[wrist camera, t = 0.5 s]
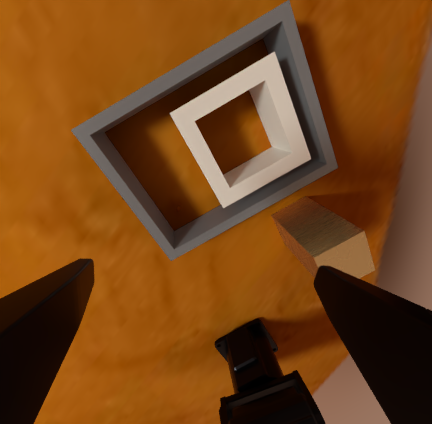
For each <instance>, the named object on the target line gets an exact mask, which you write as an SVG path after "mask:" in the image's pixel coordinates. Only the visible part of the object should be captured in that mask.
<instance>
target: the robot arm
mask: <svg viewBox="0 0 432 424" xmlns="http://www.w3.org/2000/svg"><path fill="white" fill-rule="evenodd" d="M93 285H94V263H93V260H92V259H78V260H76V261H74V262H72V263H70V264H68V265H66V266H64V267H62V268H60V269H58V270H56V271H54V272H52V273H50V274H48V275H46V276H44V277H42V278H40V279H38V280H36V281H34V282H32V283H30V284H28V285H26V286H24V287H23V288H21V289H19V290H17V291H15V292H13V293H11V294H9V295H7V296H5V297H3V298H1V299H0V424H34V422H35V419H36V417H37V415H38V413H39V411H40V409H41V407H42V405H43V403H44V400H45V398H46V396H47V394H48V392H49V390H50V388H51V386H52V383H53V381H54V379H55V377H56V375H57V373H58V371H59V369H60V366H61V364H62V362H63V360H64V358H65V356H66V354H67V352H68V350H69V347H70V345H71V343H72V341H73V339H74V337H75V335H76V333H77V330H78V328H79V326H80V323H81V320H82V318H83V315H84V312H85V309H86V306H87V303H88V300H89V297H90V294H91V291H92V288H93ZM314 288H315V290H316V292H317V294H318V296H319V298H320V300H321V302H322V305H323V307H324V309H325V311H326V313H327V315H328V317H329V319H330V321H331V323H332V324H333V326H334V328H335V329H336V331H337V333H338V335H339V336H340V338H341V340H342V341H343V343H344V345H345V346H346V348H347V350H348V351H349V353H350V355H351V357H352V358H353V360H354V362H355V363H356V365H357V367H358V368H359V370H360V372H361V373H362V375H363V377H364V379H365V380H366V382H367V383H368V385H369V387H370V389H371V390H372V392H373V394H374V395H375V397H376V399H377V401H378V402H379V404H380V406H381V407H382V409H383V411H384V412H385V414H386V416H387V417H388V419H389V421H390V423H391V424H432V311H431V310H429V309H426V308H424V307H422V306H420V305H417V304H415V303H413V302H411V301H408V300H406V299H404V298H402V297H399V296H397V295H395V294H392V293H390V292H388V291H386V290H383V289H381V288H379V287H377V286H374V285H372V284H370V283H368V282H365V281H363V280H361V279H359V278H356V277H354V276H352V275H350V274H347V273H345V272H343V271H340V270H338V269H336V268H334V267H331V266H324V265H322V266H319V268H318V270H317V273H316V276H315V279H314ZM257 323H258V324H257ZM215 348H216V349H217V350H218V351H219V352H220V354H221V355H222V356H223V357H224V358H225V360H226V361H227V362H228V365H229V370H230V374H231V379H232V383H233V388H234V392H235V394H233V395H231V396H228V397H222V398H220V401H221V407H220V409H219V415H220V421H221V424H325V421H324V419H323V417H322V415H321V413H320V411H319V409H318V407H317V405H316V403H315V401H314V399H313V398H312V396H311V394H310V392H309V390H308V389H307V387H306V385H305V383H304V382H303V380H302V378H301V376H300V374H299V373H298V371H297V370H295V371H293V372H292V373H290V374H287V375H285V376H284V375H283V373H282V370H281V368H280V366H279V363H278V361H277V359H276V356H275V354H274V352H276V351H277V350H278V347H277V345H276V344H275V342H274V340H273V339H272V337H271V336H270V334H269V333H268V331H267V329H266V328H265V326H264V325H263V323H262V322H261V320H260V319H256V320H254V321H252V322H250V323H248V324H247V325H245V326H243V327H241V328H239V329H237V330H235V331H233V332H232V333H230V334H228V335H226V336H224V337H222V338H220V339H219V340H217V341H215Z"/></svg>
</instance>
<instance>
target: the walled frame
mask: <svg viewBox="0 0 432 424" xmlns="http://www.w3.org/2000/svg"><path fill="white" fill-rule="evenodd" d="M261 39H263V40H264V43H265V46H266V48H267V51H268V54H269V55H268V56H266V57H264V58H263V59H261V60H259V61H257V62H256V63H254V64H252V65H251V66H249V67H247V68H246V69H244V70H242V71H240V72H239V73H237V74H235V75H234V76H232V77H230V78H229V79H227V80H225V81H224V82H222V83H220V84H218V85H217V86H215V87H213V88H212V89H210V90H208V91H207V92H205V93H203V94H201V95H200V96H198V97H196V98H195V99H193V100H191V101H190V102H188V103H186V104H184V105H183V106H181V107H179V108H178V109H176V110H174V111H173V112H171V113H170V115H171V117H172V119H173V120H174V122H175V124H176V126H177V127H178V129H179V131H180V133H181V134H182V136H183V138H184V140H185V142H186V143H187V145H188V147H189V149H190V150H191V152H192V154H193V156H194V157H195V159H196V161H197V163H198V164H199V166H200V168H201V170H202V172H203V173H204V175H205V177H206V179H207V180H208V182H209V184H210V186H211V187H212V189H213V191H214V193H215V194H216V196H217V198H218V200H219V202H220V203H221V205H220V206H218V207H216V208H214V209H213V210H211V211H209V212H207V213H205V214H204V215H202V216H200V217H198V218H197V219H195V220H193V221H191V222H189V223H188V224H186V225H184V226H182V227H181V228H179V229H177V230H175V231H174V230H173V229H172V227H171V226H170V224H169V223H168V222H167V220H166V219H165V217H164V216H163V215H162V213H161V212H160V210H159V209H158V208H157V206H156V205H155V203H154V202H153V200H152V199H151V198H150V196H149V195H148V193H147V192H146V191H145V189H144V188H143V186H142V185H141V183H140V182H139V181H138V179H137V178H136V176H135V175H134V174H133V172H132V171H131V169H130V168H129V167H128V165H127V164H126V162H125V161H124V159H123V158H122V157H121V155H120V154H119V152H118V151H117V150H116V148H115V147H114V145H113V144H112V143H111V141H110V140H109V138H108V137H107V135H106V134H105V133H104V132H106V131H108V130H109V129H111V128H113V127H114V126H116V125H118V124H119V123H121V122H123V121H124V120H126V119H128V118H130V117H131V116H133V115H135V114H136V113H138V112H140V111H141V110H143V109H145V108H146V107H148V106H150V105H151V104H153V103H155V102H156V101H158V100H160V99H162V98H163V97H165V96H167V95H168V94H170V93H172V92H173V91H175V90H177V89H178V88H180V87H182V86H183V85H185V84H187V83H189V82H190V81H192V80H194V79H195V78H197V77H199V76H200V75H202V74H204V73H205V72H207V71H209V70H210V69H212V68H214V67H216V66H217V65H219V64H221V63H222V62H224V61H226V60H227V59H229V58H231V57H232V56H234V55H236V54H237V53H239V52H241V51H243V50H244V49H246V48H248V47H249V46H251V45H253V44H254V43H256V42H258V41H259V40H261ZM247 90H249V92H250V94H251V96H252V99H253V101H254V104H255V106H256V109H257V111H258V114H259V116H260V119H261V121H262V123H263V126H264V128H265V131H266V133H267V136H268V138H269V141H270V143H271V145H272V147H271V148H269V149H267V150H266V151H264V152H262V153H260V154H259V155H257V156H255V157H253V158H252V159H250V160H248V161H246V162H245V163H243V164H241V165H239V166H238V167H236V168H234V169H232V170H231V171H229V172H227V173H225V174H224V175H223V174H222V172H221V170H220V168H219V166H218V165H217V163H216V161H215V159H214V157H213V155H212V153H211V151H210V149H209V148H208V146H207V144H206V142H205V140H204V138H203V136H202V134H201V132H200V131H199V129H198V127H197V125H196V123H195V121H196V120H198V119H200V118H201V117H203V116H205V115H206V114H208V113H210V112H212V111H213V110H215V109H217V108H218V107H220V106H222V105H223V104H225V103H227V102H229V101H230V100H232V99H234V98H235V97H237V96H239V95H241V94H242V93H244V92H246V91H247ZM71 131H72V132H73V134H74V135H75V136H76V137H77V139H78V140H79V141H80V143H81V144H82V145H83V147H84V148H85V149H86V151H87V152H88V153H89V154H90V156H91V157H92V158H93V160H94V161H95V162H96V164H97V165H98V166H99V167H100V169H101V170H102V171H103V173H104V174H105V175H106V177H107V178H108V179H109V181H110V182H111V183H112V184H113V186H114V187H115V188H116V190H117V191H118V192H119V194H120V195H121V196H122V198H123V199H124V200H125V201H126V203H127V204H128V205H129V207H130V208H131V209H132V211H133V212H134V213H135V214H136V216H137V217H138V218H139V220H140V221H141V222H142V224H143V225H144V226H145V228H146V229H147V230H148V231H149V233H150V234H151V235H152V237H153V238H154V239H155V241H156V242H157V243H158V244H159V246H160V247H161V248H162V250H163V251H164V252H165V254H166V255H167V256H168V258H169V259H170V260H171V261H172V260H174V259H175V258H177V257H179V256H181V255H183V254H184V253H186V252H188V251H190V250H192V249H193V248H195V247H197V246H199V245H200V244H202V243H204V242H206V241H208V240H209V239H211V238H213V237H215V236H217V235H218V234H220V233H222V232H224V231H226V230H227V229H229V228H231V227H233V226H235V225H236V224H238V223H240V222H242V221H243V220H245V219H247V218H249V217H251V216H252V215H254V214H256V213H258V212H260V211H261V210H263V209H265V208H267V207H269V206H270V205H272V204H274V203H276V202H278V201H279V200H281V199H283V198H285V197H286V196H288V195H290V194H292V193H294V192H295V191H297V190H299V189H301V188H303V187H304V186H306V185H308V184H310V183H312V182H313V181H315V180H317V179H319V178H321V177H322V176H324V175H326V174H328V173H329V172H331V171H333V170H335V169H337V168H338V165H337V162H336V158H335V155H334V152H333V148H332V145H331V141H330V138H329V134H328V131H327V128H326V124H325V121H324V117H323V114H322V111H321V107H320V104H319V100H318V97H317V94H316V90H315V87H314V83H313V80H312V77H311V73H310V70H309V66H308V63H307V59H306V56H305V53H304V49H303V46H302V42H301V39H300V36H299V32H298V29H297V25H296V22H295V19H294V15H293V12H292V8H291V5H290V1H289V0H288V1H286V2H284V3H283V4H281V5H279V6H278V7H276V8H274V9H273V10H271V11H269V12H268V13H266V14H264V15H263V16H261V17H259V18H258V19H256V20H254V21H253V22H251V23H249V24H248V25H246V26H244V27H243V28H241V29H239V30H238V31H236V32H234V33H233V34H231V35H229V36H228V37H226V38H224V39H223V40H221V41H219V42H218V43H216V44H214V45H213V46H211V47H209V48H208V49H206V50H204V51H202V52H201V53H199V54H197V55H196V56H194V57H192V58H191V59H189V60H187V61H186V62H184V63H182V64H181V65H179V66H177V67H176V68H174V69H172V70H171V71H169V72H167V73H166V74H164V75H162V76H161V77H159V78H157V79H156V80H154V81H152V82H151V83H149V84H147V85H146V86H144V87H142V88H141V89H139V90H137V91H136V92H134V93H132V94H131V95H129V96H127V97H126V98H124V99H122V100H120V101H119V102H117V103H115V104H114V105H112V106H110V107H109V108H107V109H105V110H104V111H102V112H100V113H99V114H97V115H95V116H94V117H92V118H90V119H89V120H87V121H85V122H84V123H82V124H80V125H79V126H77V127H75V128H74V129H72V130H71Z"/></svg>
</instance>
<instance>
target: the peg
mask: <svg viewBox="0 0 432 424" xmlns="http://www.w3.org/2000/svg"><path fill="white" fill-rule="evenodd" d="M271 216H272V218H273V220H274V222H275V224H276V226H277V229H278V231H279V233H280V235H281V237H282V239H283V241H284V243H285V245H286V246H287V247H288V248H289V249H290V250H291V252H292V253H293V254H294V255H295V256H296V257H297V258H298V260H299V261H300V262H301V263H302V264H303V265H304V266H305V268H306V269H307V270H308V271H309V272H310V273H311V274H312V276H313V277H314V278H315V276H316V273H317V270H318V268H319V266H322V265H324V266H331V267H334V268H336V269H338V270H340V271H343V272H345V273H347V274H350V275H352V276H354V277H356V278H361V277H363V276H365V275H367V274H368V273H370V272H372V271H374V270H375V267H374V264H373V260H372V257H371V253H370V249H369V246H368V242H367V238H366V235H365V231H364V230H362V229H361V228H359V227H357V226H355V225H354V224H352V223H350V222H349V221H347V220H345V219H344V218H342V217H340V216H339V215H337V214H335V213H333V212H332V211H330V210H328V209H327V208H325V207H323V206H322V205H320V204H318V203H317V202H315V201H313V200H311V199H310V198H308V197H306V196H305V197H303V198H302V199H300V200H298V201H296V202H294V203H293V204H291V205H289V206H287V207H285V208H284V209H282V210H280V211H278V212H276V213H275V214H273V215H271Z"/></svg>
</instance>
